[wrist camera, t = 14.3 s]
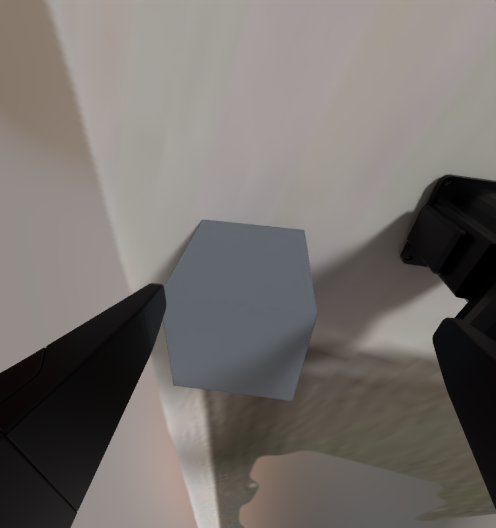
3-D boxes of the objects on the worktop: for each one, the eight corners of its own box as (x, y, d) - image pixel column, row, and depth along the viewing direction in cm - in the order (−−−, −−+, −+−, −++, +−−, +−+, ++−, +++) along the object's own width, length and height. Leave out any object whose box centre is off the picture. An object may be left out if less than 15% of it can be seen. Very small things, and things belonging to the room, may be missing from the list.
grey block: (304, 230, 20) (317, 313, 13) (288, 306, 24) (292, 400, 17) (202, 219, 20) (159, 295, 13) (205, 296, 25) (173, 385, 17)
